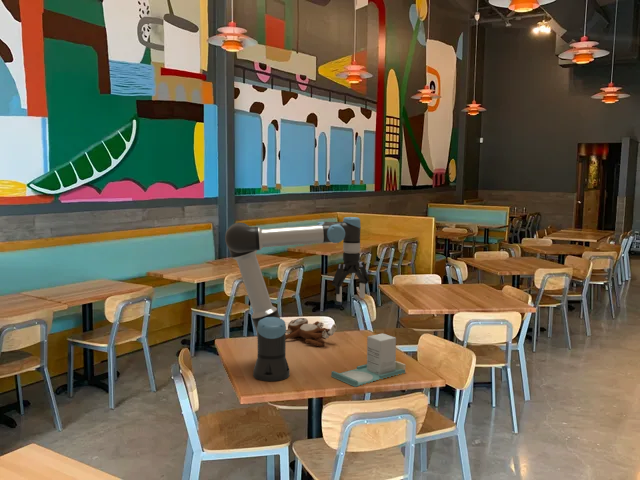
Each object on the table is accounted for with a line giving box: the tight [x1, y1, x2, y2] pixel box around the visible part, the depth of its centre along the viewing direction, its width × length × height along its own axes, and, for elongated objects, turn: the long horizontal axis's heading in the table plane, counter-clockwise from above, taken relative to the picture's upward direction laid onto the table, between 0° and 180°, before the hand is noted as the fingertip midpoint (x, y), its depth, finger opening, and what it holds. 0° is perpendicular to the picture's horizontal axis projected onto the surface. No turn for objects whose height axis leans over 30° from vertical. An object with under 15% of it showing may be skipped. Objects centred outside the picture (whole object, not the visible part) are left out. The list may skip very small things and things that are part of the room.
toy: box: [286, 317, 338, 348], centre depth 290 cm, size 22×10×30 cm
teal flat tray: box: [330, 361, 407, 388], centre depth 240 cm, size 28×15×4 cm, turn 128°
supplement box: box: [366, 332, 397, 375], centre depth 243 cm, size 9×9×15 cm
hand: (350, 299), depth 254 cm, fingers open, 13 cm apart
